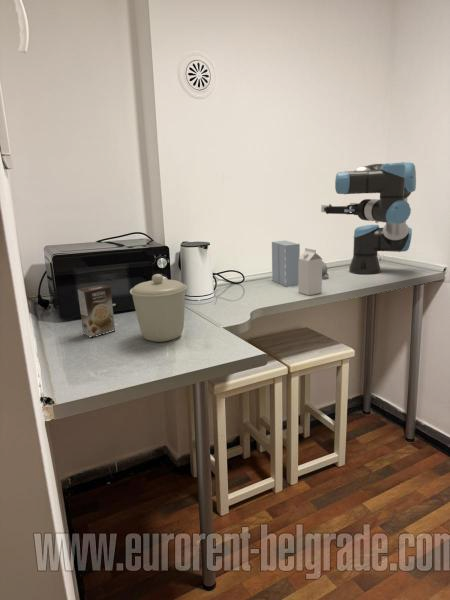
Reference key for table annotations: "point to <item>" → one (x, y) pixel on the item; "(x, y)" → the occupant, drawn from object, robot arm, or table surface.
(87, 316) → the coffee box
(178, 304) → the canister
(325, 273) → the grey skull
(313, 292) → the milk carton
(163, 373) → the table surface
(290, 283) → the pack
